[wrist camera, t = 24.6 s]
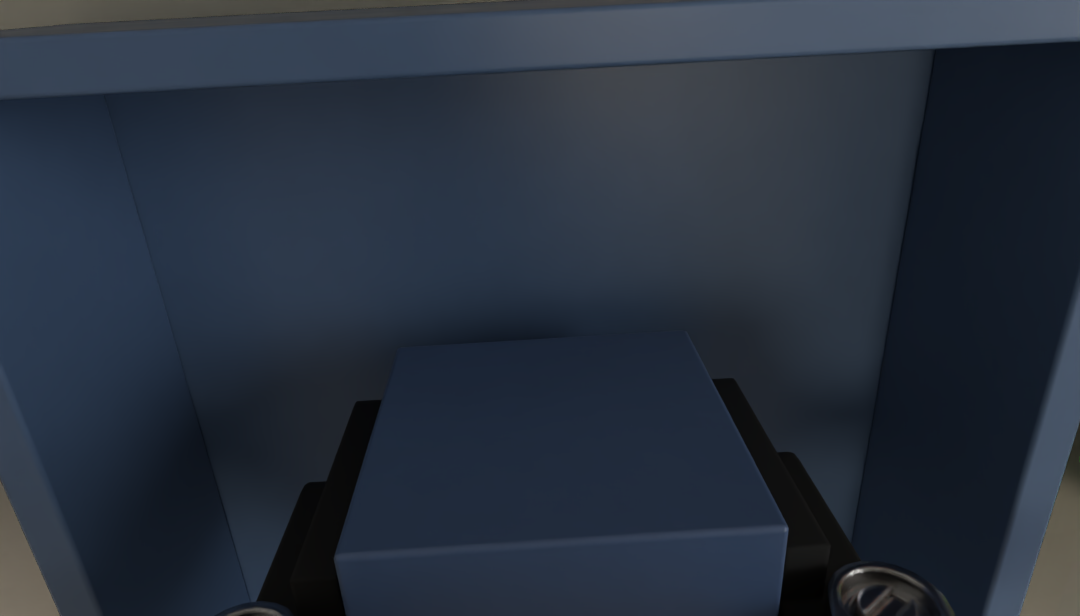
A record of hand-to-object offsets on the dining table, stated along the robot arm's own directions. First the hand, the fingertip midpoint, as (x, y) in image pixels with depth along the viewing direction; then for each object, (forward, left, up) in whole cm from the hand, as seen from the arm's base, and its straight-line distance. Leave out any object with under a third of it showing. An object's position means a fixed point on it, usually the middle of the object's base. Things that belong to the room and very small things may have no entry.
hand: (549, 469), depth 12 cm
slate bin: (0, 0, -3) cm, 3 cm away
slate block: (0, 0, 0) cm, 0 cm away
